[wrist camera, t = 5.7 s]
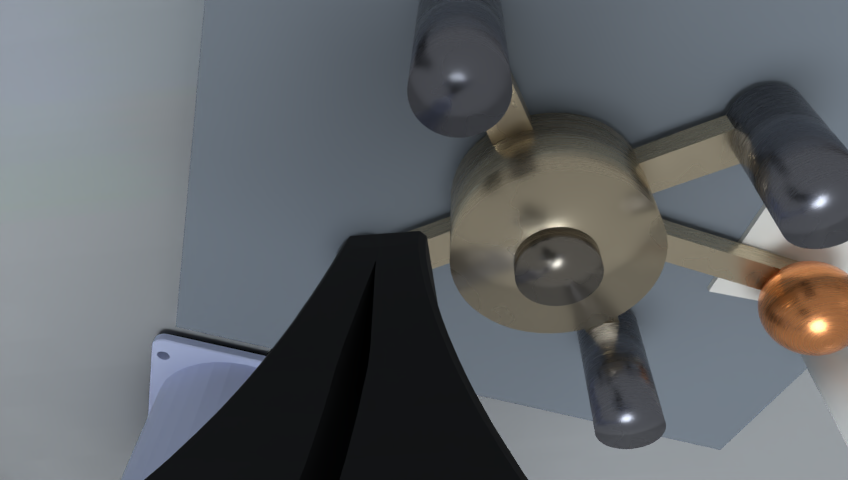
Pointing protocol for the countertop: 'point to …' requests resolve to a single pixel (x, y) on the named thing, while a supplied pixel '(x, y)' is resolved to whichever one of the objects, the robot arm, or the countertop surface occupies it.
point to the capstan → (617, 212)
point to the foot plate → (440, 157)
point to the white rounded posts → (833, 373)
